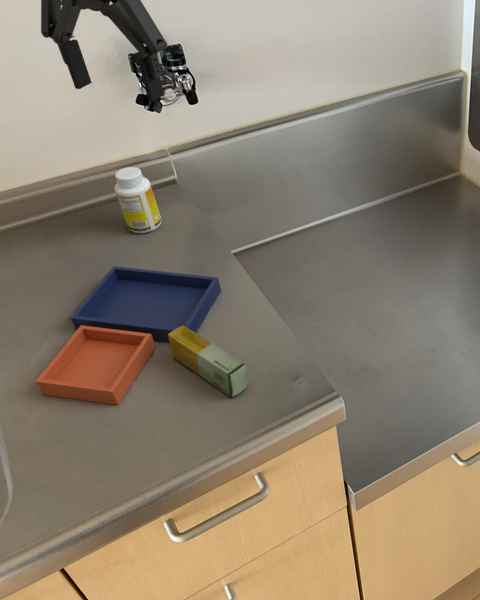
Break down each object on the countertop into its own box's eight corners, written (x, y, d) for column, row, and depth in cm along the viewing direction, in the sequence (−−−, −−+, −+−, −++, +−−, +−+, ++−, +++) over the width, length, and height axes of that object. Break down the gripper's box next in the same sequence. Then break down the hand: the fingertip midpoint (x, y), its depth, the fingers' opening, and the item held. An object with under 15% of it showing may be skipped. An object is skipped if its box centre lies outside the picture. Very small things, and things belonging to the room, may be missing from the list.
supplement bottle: (153, 212, 108) (137, 160, 101) (168, 226, 105) (152, 173, 98) (123, 225, 105) (103, 172, 98) (137, 239, 102) (118, 185, 95)
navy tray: (76, 331, 85) (69, 317, 84) (118, 278, 94) (113, 265, 92) (188, 344, 83) (184, 331, 82) (221, 290, 92) (218, 277, 90)
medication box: (249, 387, 78) (247, 364, 75) (233, 399, 76) (230, 376, 74) (186, 345, 83) (182, 323, 81) (170, 356, 81) (165, 333, 79)
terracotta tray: (43, 394, 77) (35, 381, 75) (87, 338, 84) (80, 325, 83) (118, 405, 76) (112, 391, 74) (156, 346, 83) (151, 333, 81)
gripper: (168, -67, 78) (203, 94, 92) (17, -81, 85) (72, 72, 99) (130, -55, 73) (173, 114, 87) (-28, -70, 80) (36, 89, 94)
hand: (119, 92), depth 93 cm, fingers open, 13 cm apart
